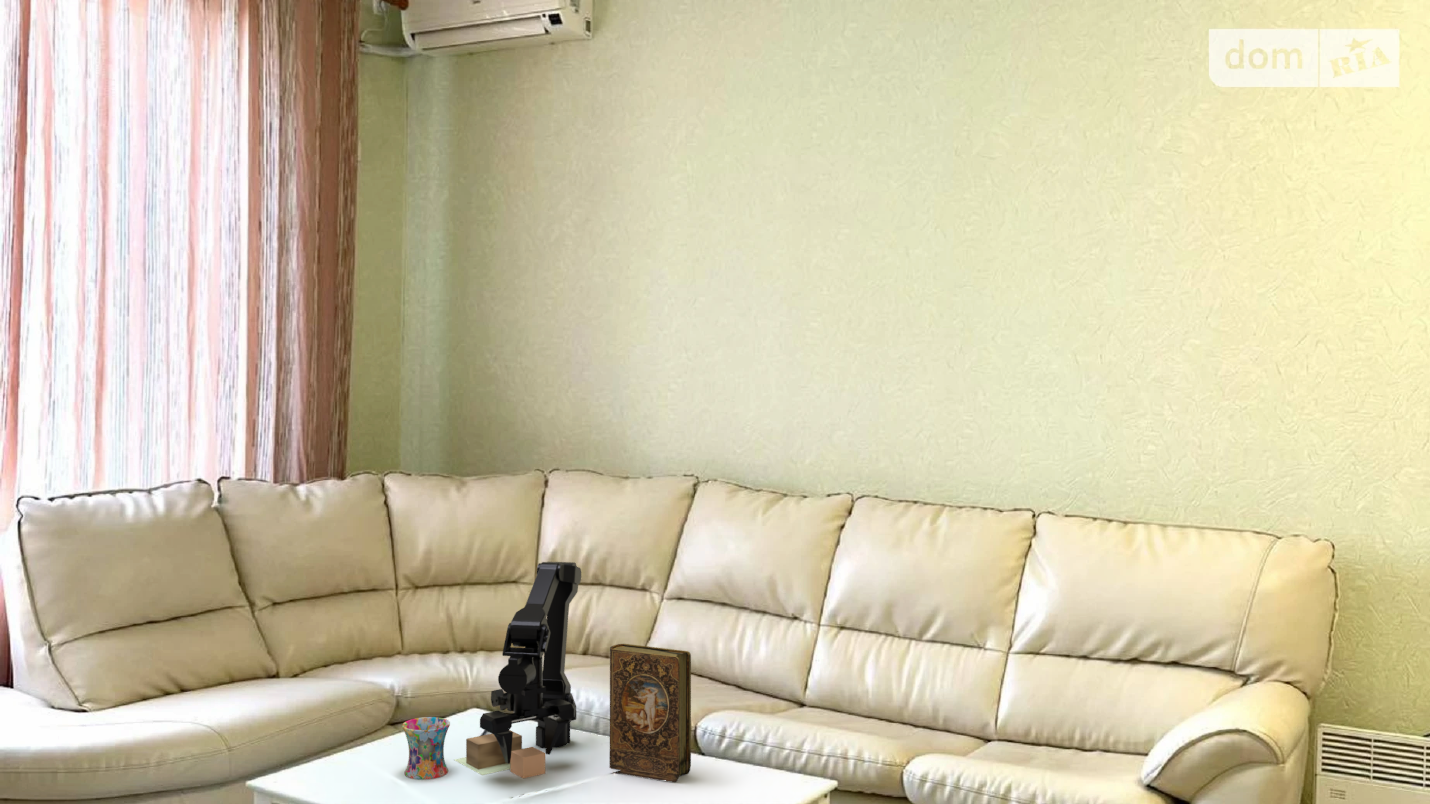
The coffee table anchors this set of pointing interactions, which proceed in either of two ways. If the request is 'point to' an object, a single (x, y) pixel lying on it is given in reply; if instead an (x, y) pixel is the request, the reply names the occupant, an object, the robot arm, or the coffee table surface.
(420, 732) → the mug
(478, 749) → the walnut brick
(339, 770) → the coffee table surface
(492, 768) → the baseplate
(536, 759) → the cube
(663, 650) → the book
